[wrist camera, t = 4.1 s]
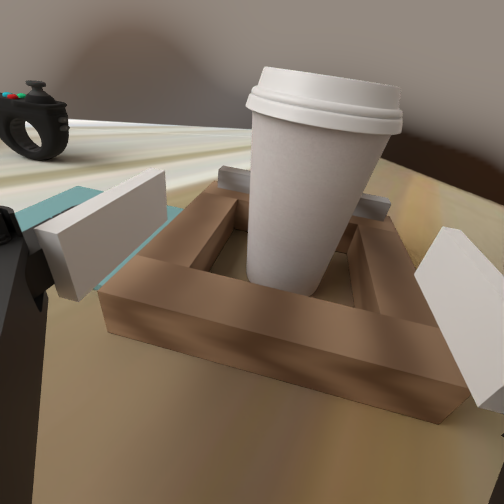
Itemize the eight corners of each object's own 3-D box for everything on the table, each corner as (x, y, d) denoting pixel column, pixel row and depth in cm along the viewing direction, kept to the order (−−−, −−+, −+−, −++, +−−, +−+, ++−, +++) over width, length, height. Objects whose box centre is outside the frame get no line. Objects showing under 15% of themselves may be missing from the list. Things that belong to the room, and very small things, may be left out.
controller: (65, 168, 38) (43, 85, 32) (-20, 154, 38) (-55, 69, 33) (84, 160, 42) (68, 84, 36) (7, 147, 42) (-21, 70, 36)
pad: (187, 214, 31) (187, 209, 31) (109, 293, 20) (108, 287, 19) (78, 190, 33) (77, 185, 32) (-53, 250, 21) (-57, 244, 21)
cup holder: (377, 243, 31) (397, 199, 28) (438, 424, 15) (502, 365, 12) (212, 208, 34) (215, 163, 31) (107, 332, 17) (89, 262, 14)
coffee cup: (345, 324, 20) (454, 94, 12) (219, 304, 20) (240, 61, 12) (327, 253, 28) (385, 86, 20) (236, 239, 28) (256, 66, 20)
